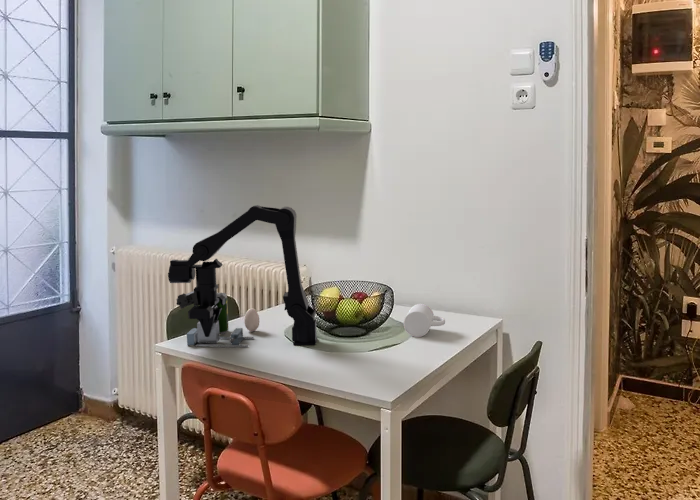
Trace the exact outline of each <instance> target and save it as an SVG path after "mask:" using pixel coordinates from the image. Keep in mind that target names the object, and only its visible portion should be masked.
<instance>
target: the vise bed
mask: <svg viewBox="0 0 700 500" xmlns="http://www.w3.org/2000/svg"><path fill="white" fill-rule="evenodd" d="M254 339H255V337H254V336H243V340H254ZM220 340H231V336H220ZM186 344H187V345H194V346H196V348H198V347H197V346H214V347H213V348H216V347H215V346H219V347H218V348H249V344H239V345H231V344H218V343H198V332H197V328H196V327H193V328H191V329H190V330H189V331H188V332H187V333H186ZM187 345H186V346H187ZM220 346H221V347H220Z"/></svg>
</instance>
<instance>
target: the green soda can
mask: <svg viewBox="0 0 700 500" xmlns="http://www.w3.org/2000/svg"><path fill="white" fill-rule="evenodd" d="M217 295H223V296H224V297H225V304H224V305H221V300H219V302H218V303H217V304H216V305H217V307H222V310H221V312H220V314H219V317H218V320H219V335H225V334H227V333H228V332H229V310H228V308H229V307H228V296H227V293H225V292H217Z"/></svg>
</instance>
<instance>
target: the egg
mask: <svg viewBox="0 0 700 500" xmlns="http://www.w3.org/2000/svg"><path fill="white" fill-rule="evenodd" d="M243 319H244V322H243V323H244V326H245V328H246V330H247V331H249V332H250V333H252V332H255V331H257V329H258V328H259V326H260V315H259V314H258V312H257V310H256V309H255V308H253V307H252V308H249V309H248V310H247V311H246V312H245V315H244V318H243Z"/></svg>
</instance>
